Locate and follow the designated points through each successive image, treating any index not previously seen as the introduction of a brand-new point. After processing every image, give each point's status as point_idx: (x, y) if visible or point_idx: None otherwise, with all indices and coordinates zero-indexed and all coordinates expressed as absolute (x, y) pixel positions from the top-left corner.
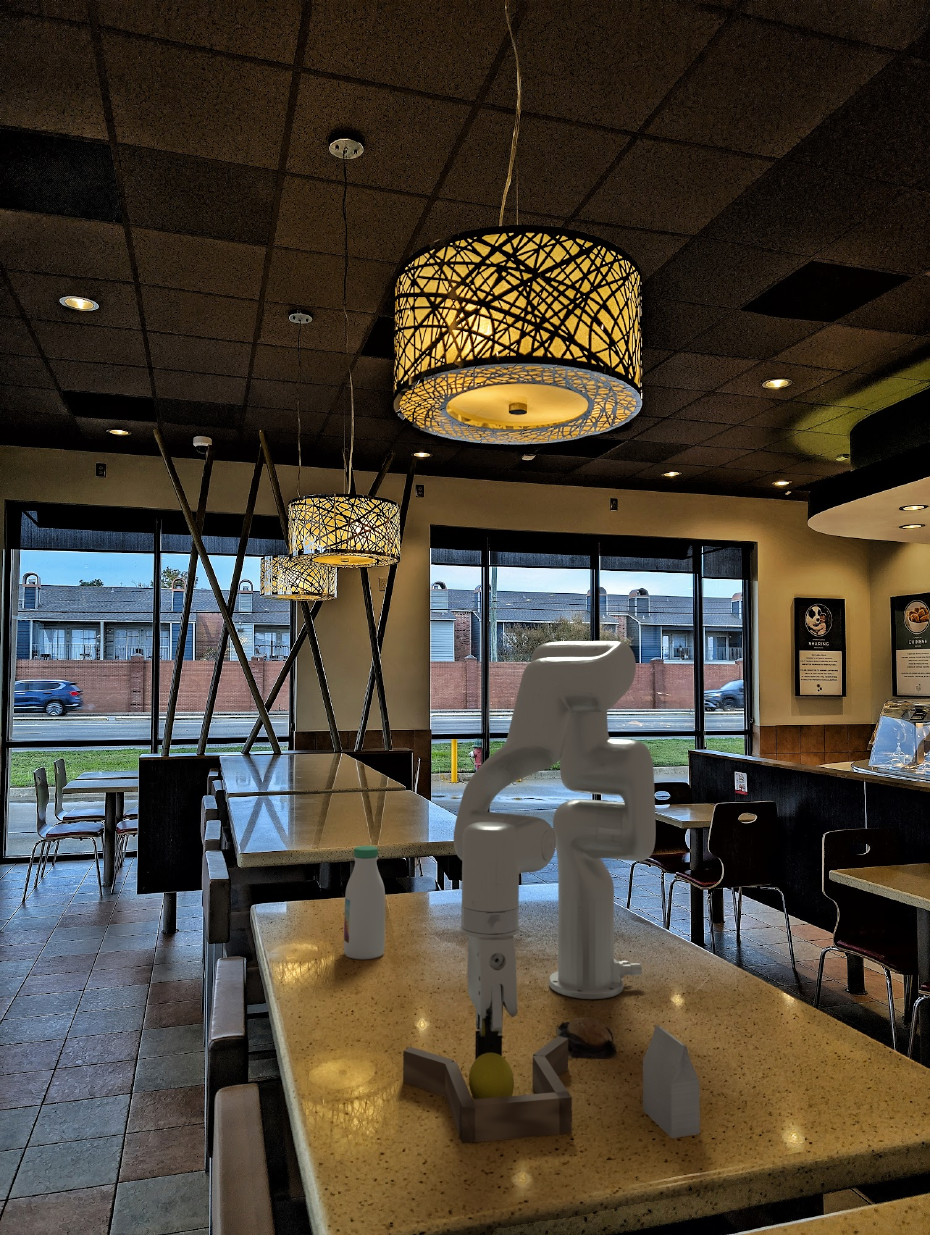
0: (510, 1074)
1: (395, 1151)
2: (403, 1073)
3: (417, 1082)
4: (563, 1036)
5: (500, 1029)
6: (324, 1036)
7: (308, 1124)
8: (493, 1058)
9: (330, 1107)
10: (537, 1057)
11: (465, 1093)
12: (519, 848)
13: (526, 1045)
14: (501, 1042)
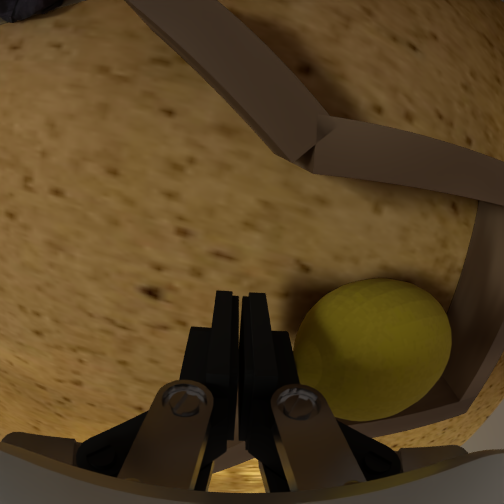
0: (437, 319)
1: (400, 436)
2: None
3: None
4: (12, 4)
5: (460, 455)
6: None
7: None
8: (411, 393)
9: (254, 487)
10: (336, 157)
11: (434, 413)
12: None
13: (6, 111)
14: (273, 348)
